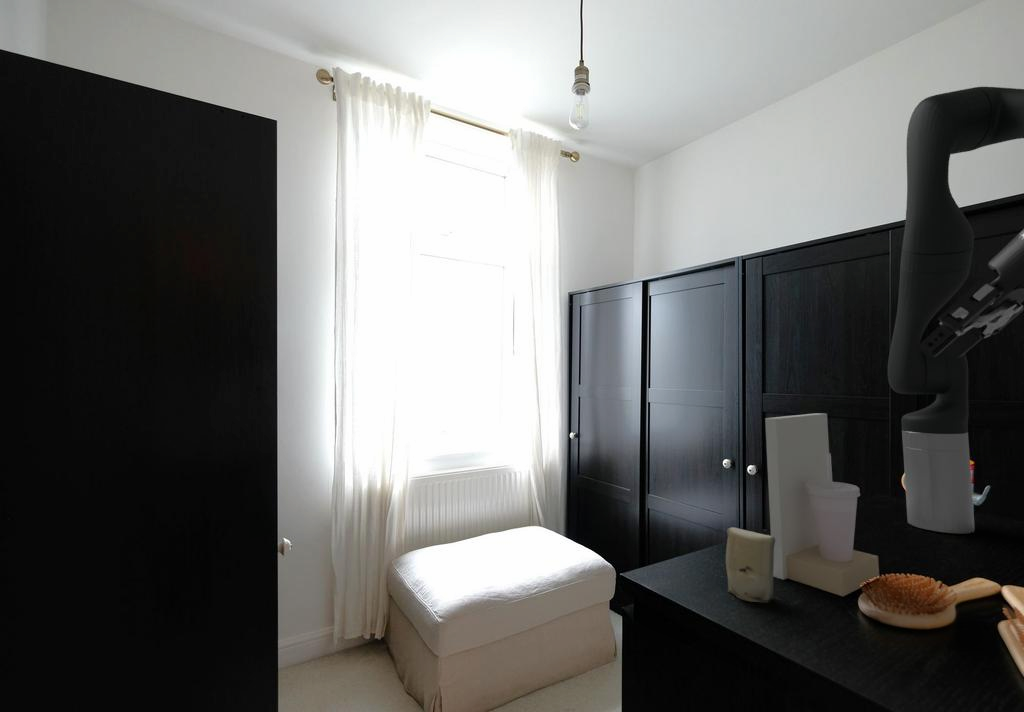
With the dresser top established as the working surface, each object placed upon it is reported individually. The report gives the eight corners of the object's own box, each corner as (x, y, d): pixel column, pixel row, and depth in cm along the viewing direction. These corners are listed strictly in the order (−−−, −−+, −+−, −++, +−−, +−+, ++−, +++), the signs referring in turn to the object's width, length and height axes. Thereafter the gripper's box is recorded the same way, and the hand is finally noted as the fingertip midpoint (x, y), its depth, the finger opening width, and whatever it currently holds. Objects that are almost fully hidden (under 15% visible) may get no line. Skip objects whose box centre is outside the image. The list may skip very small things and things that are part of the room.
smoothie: (853, 550, 70) (847, 451, 70) (873, 567, 63) (866, 457, 64) (802, 547, 71) (797, 450, 72) (817, 563, 65) (811, 457, 66)
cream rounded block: (769, 588, 65) (766, 526, 65) (783, 606, 60) (780, 539, 60) (723, 586, 66) (721, 525, 66) (733, 603, 61) (730, 537, 61)
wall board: (824, 555, 76) (816, 413, 77) (889, 573, 69) (879, 415, 70) (772, 576, 69) (765, 418, 70) (839, 598, 61) (829, 421, 63)
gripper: (1039, 240, 63) (932, 336, 72) (1002, 223, 55) (889, 333, 65) (1106, 272, 58) (983, 372, 67) (1077, 259, 51) (943, 373, 60)
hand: (937, 353), depth 66 cm, fingers open, 8 cm apart
